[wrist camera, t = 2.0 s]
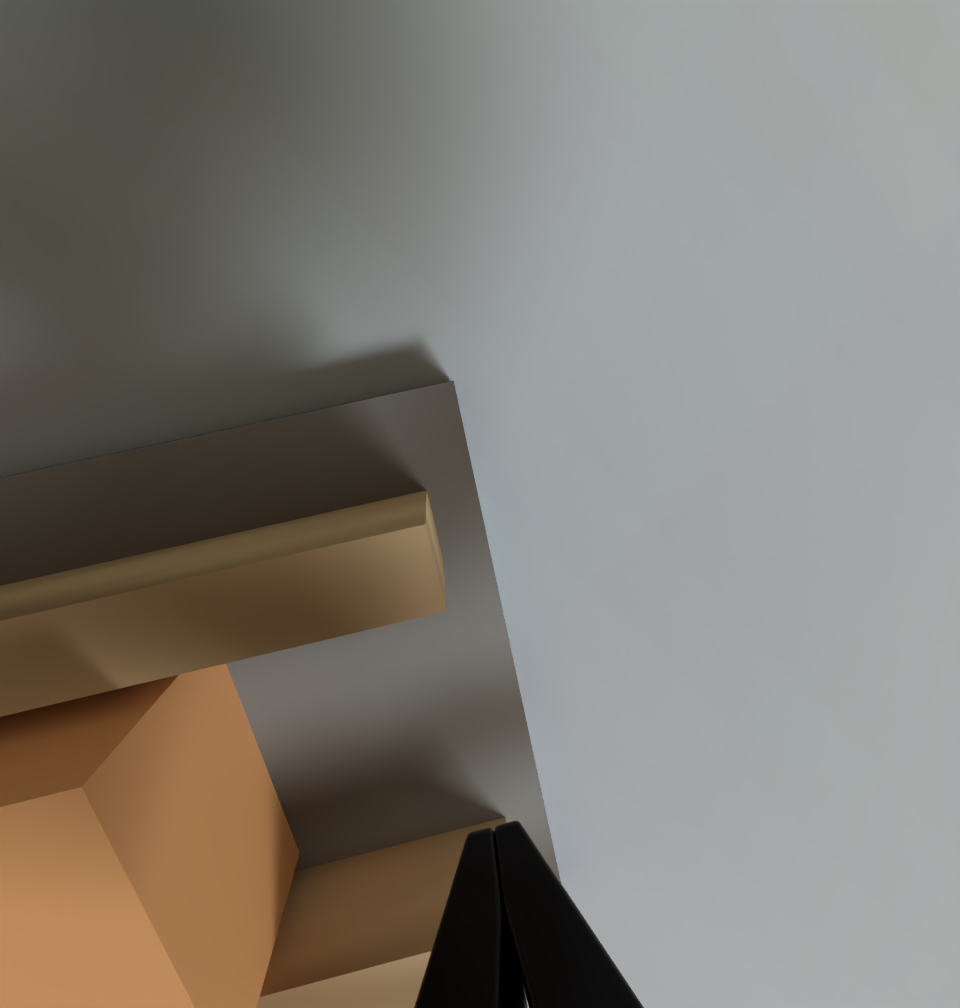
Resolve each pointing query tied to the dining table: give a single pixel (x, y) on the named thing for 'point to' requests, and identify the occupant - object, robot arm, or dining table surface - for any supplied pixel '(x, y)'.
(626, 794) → the dining table surface
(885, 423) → the dining table surface
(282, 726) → the chute
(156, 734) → the orange block
